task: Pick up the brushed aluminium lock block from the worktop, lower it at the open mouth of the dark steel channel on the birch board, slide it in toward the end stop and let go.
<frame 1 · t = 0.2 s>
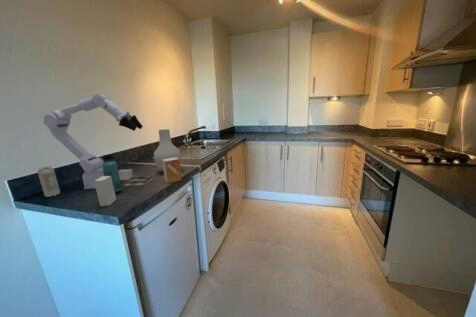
hand: (138, 128, 108), 31 cm above the countertop, tool tilted 45°, fingers open, 7 cm apart
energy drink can: (53, 196, 103), on the countertop
lock block: (126, 178, 125), on the countertop
small box: (173, 181, 116), on the countertop
vase: (169, 172, 135), on the countertop
channel board: (138, 182, 116), on the countertop
beverage bottle: (115, 193, 103), on the countertop
skincare box: (108, 203, 91), on the countertop
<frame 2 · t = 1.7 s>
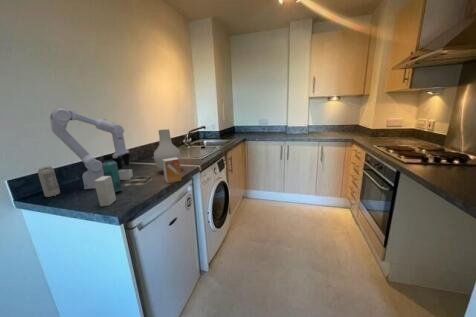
hand: (123, 166, 123), 8 cm above the countertop, tool pointing down, fingers open, 7 cm apart
nothing on the countertop moved.
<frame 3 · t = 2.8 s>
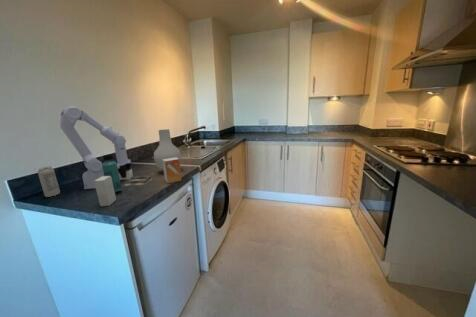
hand: (125, 176, 124), 1 cm above the countertop, tool pointing down, fingers closed on lock block, 4 cm apart
lock block: (126, 178, 125), on the countertop, touching gripper
everything else where it was.
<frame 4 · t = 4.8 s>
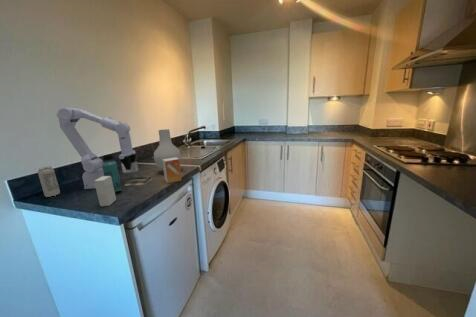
hand: (130, 168, 115), 8 cm above the countertop, tool pointing down, fingers closed on lock block, 4 cm apart
lock block: (130, 171, 116), point 7 cm above the countertop, touching gripper
everything else where it was.
when the fingers open (4 cm above the countertop, at t = 6.7 s): lock block drops 1 cm, resting on channel board.
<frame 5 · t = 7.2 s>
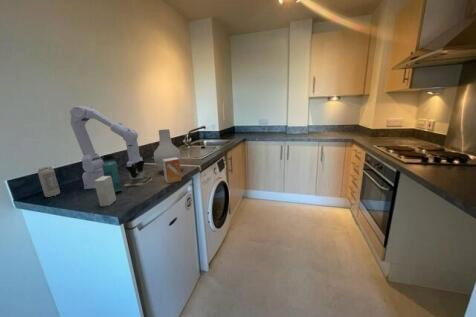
hand: (137, 175, 115), 4 cm above the countertop, tool pointing down, fingers open, 7 cm apart
lock block: (138, 181, 116), point 1 cm above the countertop, touching channel board
everything else where it was.
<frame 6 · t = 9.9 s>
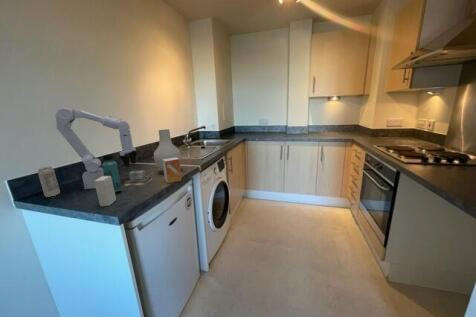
hand: (130, 164, 120), 9 cm above the countertop, tool pointing down, fingers open, 7 cm apart
nothing on the countertop moved.
at the end: lock block 0.5 cm off-centre on the channel board, point 1.0 cm above the channel board's base; lock block tilted 0°; the gripper is holding nothing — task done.
